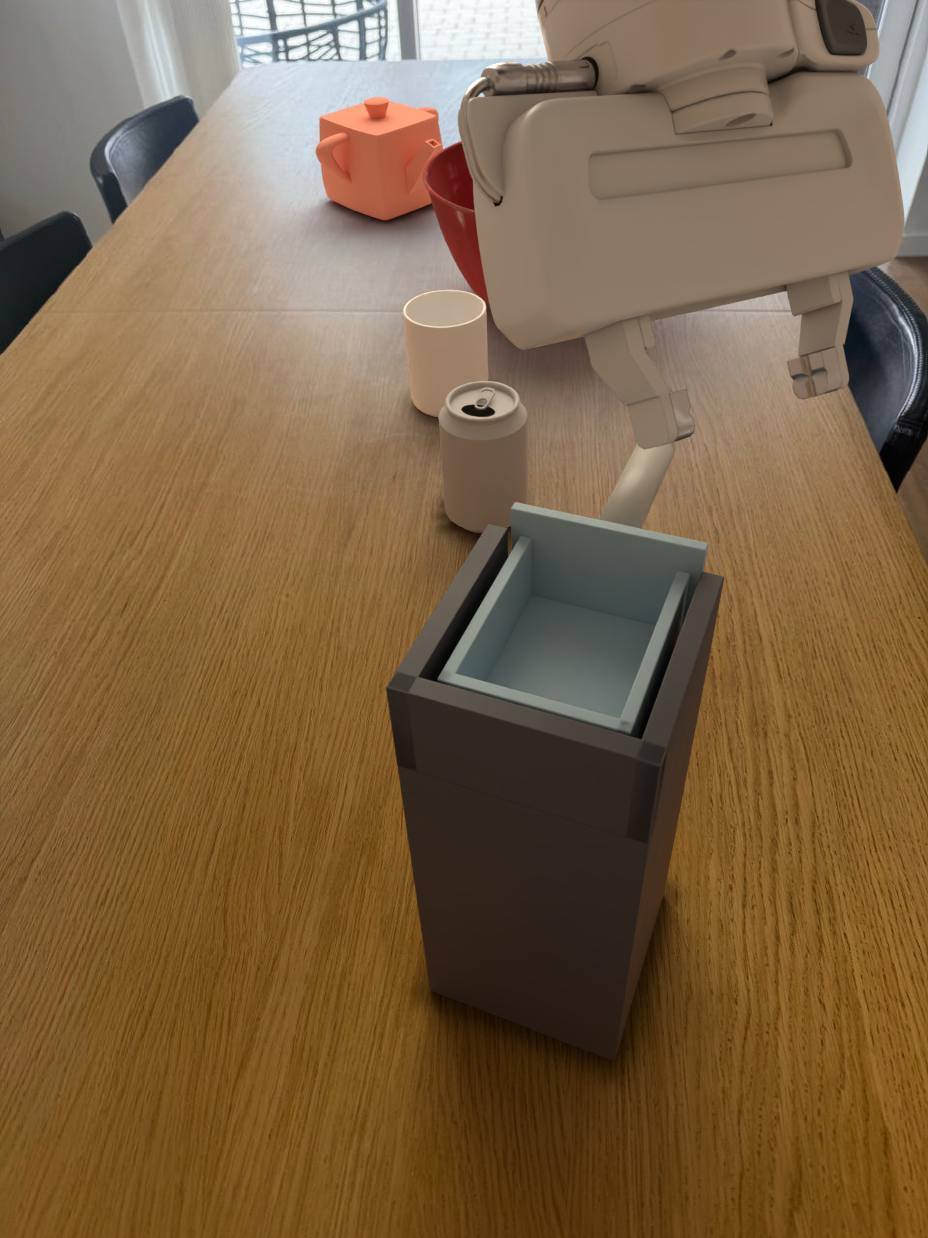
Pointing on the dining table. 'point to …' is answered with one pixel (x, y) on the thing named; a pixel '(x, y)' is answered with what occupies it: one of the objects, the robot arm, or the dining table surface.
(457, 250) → the mixing bowl
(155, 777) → the dining table surface
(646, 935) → the box
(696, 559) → the tray
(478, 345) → the mug
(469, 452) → the can
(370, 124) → the teapot
